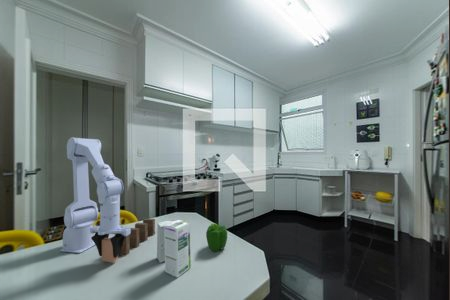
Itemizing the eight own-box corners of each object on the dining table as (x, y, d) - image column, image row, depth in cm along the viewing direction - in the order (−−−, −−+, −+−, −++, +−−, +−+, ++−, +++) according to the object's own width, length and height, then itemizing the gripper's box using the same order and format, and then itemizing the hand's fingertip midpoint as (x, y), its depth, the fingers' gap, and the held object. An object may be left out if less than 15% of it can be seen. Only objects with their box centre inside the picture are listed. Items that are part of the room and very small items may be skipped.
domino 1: (114, 262, 59) (114, 240, 59) (101, 260, 60) (101, 239, 60) (117, 259, 61) (118, 238, 61) (105, 258, 61) (105, 237, 62)
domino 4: (145, 241, 75) (145, 224, 75) (134, 240, 76) (134, 224, 76) (147, 239, 77) (147, 223, 77) (137, 238, 78) (137, 222, 78)
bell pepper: (221, 241, 74) (221, 217, 75) (231, 250, 67) (230, 223, 67) (202, 245, 70) (202, 220, 71) (210, 256, 63) (210, 227, 64)
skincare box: (159, 263, 59) (159, 226, 60) (156, 257, 63) (156, 222, 63) (177, 257, 63) (177, 222, 63) (173, 251, 66) (173, 219, 67)
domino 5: (152, 235, 81) (152, 220, 81) (143, 235, 81) (143, 219, 82) (154, 234, 82) (154, 218, 82) (145, 233, 83) (145, 218, 83)
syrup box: (177, 278, 52) (177, 228, 52) (164, 271, 55) (163, 224, 55) (191, 267, 56) (190, 222, 57) (178, 262, 60) (177, 218, 60)
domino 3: (136, 247, 70) (136, 230, 70) (125, 246, 71) (125, 229, 71) (139, 245, 71) (139, 228, 72) (128, 245, 72) (128, 227, 73)
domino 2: (126, 255, 64) (126, 236, 65) (114, 254, 65) (114, 235, 66) (129, 253, 66) (129, 234, 66) (117, 252, 67) (118, 233, 67)
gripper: (81, 218, 58) (80, 260, 58) (119, 220, 56) (119, 264, 55) (100, 211, 65) (99, 248, 65) (134, 213, 63) (134, 252, 62)
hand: (109, 255), depth 60 cm, fingers closed on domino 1, 5 cm apart
